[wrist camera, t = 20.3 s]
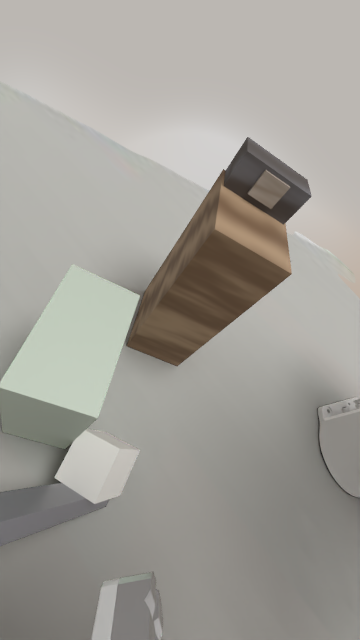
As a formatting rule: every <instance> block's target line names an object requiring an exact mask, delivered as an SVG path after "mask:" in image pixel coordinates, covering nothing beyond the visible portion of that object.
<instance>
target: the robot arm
mask: <svg viewBox="0 0 360 640" xmlns="http://www.w3.org/2000/svg"><path fill="white" fill-rule="evenodd" d="M318 416H319V421H320V430H319V440H320V447H321V451H322V454H323V457H324V460H325V463H326V465H327V467H328V469H329V471H330V473H331V474H332V476H333V477H334V479H335V480H336V482H337V483H338V484H339V485H340V486H341V487H342V488H343V489H344V490H345V491H346V492H347V493H349V494H351V495H352V496H355V497H359V498H360V399H359V398H357V397H355V398H350V399H346V400H343V401H339V402H335V403H332V404H328V405H324V406H321V407H319V408H318ZM162 634H163V617H162V604H161V598H160V593H159V590H157V589H156V578H155V575H154V572H149V573H144V574H138V575H133V576H128V577H123V578H116V579H112V580H107V581H104V582H103V584H102V587H101V589H100V594H99V600H98V605H97V610H96V616H95V621H94V626H93V631H92V637H91V640H160V639H161V636H162Z"/></svg>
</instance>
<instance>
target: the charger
mask: <svg viewBox="0 0 360 640" xmlns="http://www.w3.org/2000/svg"><path fill="white" fill-rule="evenodd" d="M139 452H140V450H139V449H138V448H136V447H134V446H132V445H130V444H128V443H126V442H124V441H122V440H120V439H119V438H117V437H115V436H113V435H111V434H109V433H107V432H104V431H98V430H92V429H86V430H85V431H84V432H83V433H82V434H81V435H80V436H78V437H77V438H76V439H75V440H74V441H73V443H72V445H71V447H70V449H69V451H68V453H67V454H66V456H65V458H64V460H63V462H62V464H61V466H60V468H59V470H58V472H57V474H56V475H55V477H54V478H55V479H57V480H58V481H60V482H61V483H57V484H51V485H44V486H38V487H31V488H25V489H18V490H12V491H5V492H0V546H2V545H5V544H7V543H10V542H13V541H15V540H18V539H21V538H23V537H26V536H29V535H31V534H34V533H37V532H39V531H42V530H45V529H47V528H50V527H53V526H55V525H58V524H61V523H63V522H66V521H69V520H71V519H74V518H77V517H79V516H82V515H85V514H87V513H90V512H93V511H95V510H98V509H101V508H103V507H106V505H107V503H108V501H109V499H111V498H114V497H117V496H120V495H121V493H122V490H123V488H124V486H125V484H126V481H127V479H128V477H129V474H130V472H131V470H132V468H133V465H134V463H135V461H136V459H137V456H138V454H139Z"/></svg>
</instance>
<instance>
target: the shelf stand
mask: <svg viewBox="0 0 360 640" xmlns="http://www.w3.org/2000/svg"><path fill="white" fill-rule="evenodd" d="M310 197H311V192H310V188H309V185H308V181H307V179H305V178H304V177H303V176H301V175H300V174H298V173H297V172H296V171H294V170H293V169H292V168H290V167H289V166H287V165H286V164H285V163H283V162H282V161H280V160H279V159H278V158H276V157H275V156H273V155H272V154H271V153H269V152H268V151H267V150H265V149H264V148H262V147H261V146H260V145H258V144H257V143H255V142H254V141H253V140H251V139H250V138H248V137H247V139H246V140H245V142H244V144H243V145H242V146H241V148H240V150H239V151H238V153H237V154H236V156H235V157H234V159H233V160H232V162H231V164H230V165H229V166H228V168H227V170H226V171H225V170H224V169H223V171H222V173H221V174H220V176H219V177H218V179H217V180H216V182H215V183H214V185H213V186H212V188H211V190H210V191H209V193H208V194H207V196H206V197H205V199H204V200H203V202H202V204H201V205H200V207H199V208H198V210H197V211H196V213H195V214H194V216H193V218H192V219H191V221H190V222H189V224H188V225H187V227H186V228H185V230H184V232H183V233H182V235H181V236H180V238H179V239H178V241H177V242H176V244H175V246H174V247H173V249H172V250H171V252H170V253H169V255H168V256H167V258H166V260H165V261H164V263H163V264H162V266H161V267H160V269H159V270H158V272H157V273H156V275H155V277H154V278H153V280H152V281H151V283H150V284H149V286H148V287H147V289H146V291H145V293H144V296H143V299H142V302H141V305H140V308H139V311H138V314H137V317H136V320H135V323H134V326H133V329H132V332H131V335H130V338H129V341H128V344H127V346H128V347H131V348H133V349H135V350H138V351H140V352H143V353H145V354H148V355H150V356H153V357H155V358H158V359H160V360H163V361H165V362H168V363H170V364H173V365H175V366H178V365H179V364H180V363H182V362H183V361H184V360H185V359H187V358H188V357H189V356H190V355H192V354H193V353H194V352H195V351H197V350H198V349H199V348H200V347H202V346H203V345H204V344H205V343H207V342H208V341H209V340H210V339H211V338H213V337H214V336H215V335H216V334H218V333H219V332H220V331H221V330H223V329H224V328H225V327H226V326H228V325H229V324H230V323H231V322H233V321H234V320H235V319H236V318H238V317H239V316H240V315H241V314H243V313H244V312H245V311H246V310H248V309H249V308H250V307H251V306H252V305H254V304H255V303H256V302H257V301H259V300H260V299H261V298H262V297H264V296H265V295H266V294H267V293H269V292H270V291H271V290H272V289H274V288H275V287H276V286H277V285H279V284H280V283H281V282H282V281H284V280H285V279H286V278H287V277H288V276H290V275H291V274H292V273H291V265H290V257H289V249H288V241H287V233H286V226H285V223H286V222H287V221H288V220H289V218H291V217H292V216H293V215H294V214H295V213H296V212H297V210H299V209H300V207H301V206H302V205H304V203H305V202H306V201H307V200H308V199H309V198H310Z"/></svg>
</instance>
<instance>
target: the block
mask: <svg viewBox="0 0 360 640" xmlns="http://www.w3.org/2000/svg"><path fill="white" fill-rule="evenodd" d="M139 298H140V295H138V294H136V293H134V292H131V291H129V290H127V289H125V288H123V287H121V286H119V285H116V284H114V283H112V282H110V281H108V280H106V279H103V278H101V277H99V276H97V275H95V274H93V273H90V272H88V271H86V270H84V269H82V268H80V267H77V266H75V265H73V264H72V266H71V267H70V269H69V270H68V272H67V274H66V275H65V277H64V279H63V280H62V282H61V283H60V285H59V287H58V288H57V290H56V292H55V293H54V295H53V297H52V298H51V300H50V301H49V303H48V305H47V306H46V308H45V310H44V311H43V313H42V315H41V316H40V318H39V319H38V321H37V323H36V324H35V326H34V328H33V329H32V331H31V333H30V334H29V336H28V337H27V339H26V341H25V342H24V344H23V346H22V347H21V349H20V350H19V352H18V354H17V355H16V357H15V359H14V360H13V362H12V364H11V365H10V367H9V368H8V370H7V372H6V373H5V375H4V377H3V378H2V380H1V382H0V414H1V422H2V431H3V432H4V433H7V434H11V435H15V436H18V437H22V438H26V439H29V440H33V441H37V442H40V443H44V444H48V445H51V446H55V447H59V448H63V449H66V448H67V447H68V446H69V445H70V444H71V443H72V442H73V441H74V440H75V439H76V438H77V437H78V436H80V435H81V434H82V433H83V432H84V431H85V430H86V429H87V428H88V427H89V426H90V425H91V424H92V423H93V422H94V421H95V420H97V419H98V416H99V414H100V411H101V408H102V405H103V402H104V399H105V396H106V393H107V390H108V387H109V385H110V382H111V379H112V376H113V373H114V370H115V367H116V364H117V361H118V359H119V356H120V353H121V350H122V347H123V344H124V341H125V338H126V335H127V332H128V330H129V327H130V324H131V321H132V318H133V315H134V312H135V309H136V306H137V304H138V301H139Z"/></svg>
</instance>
